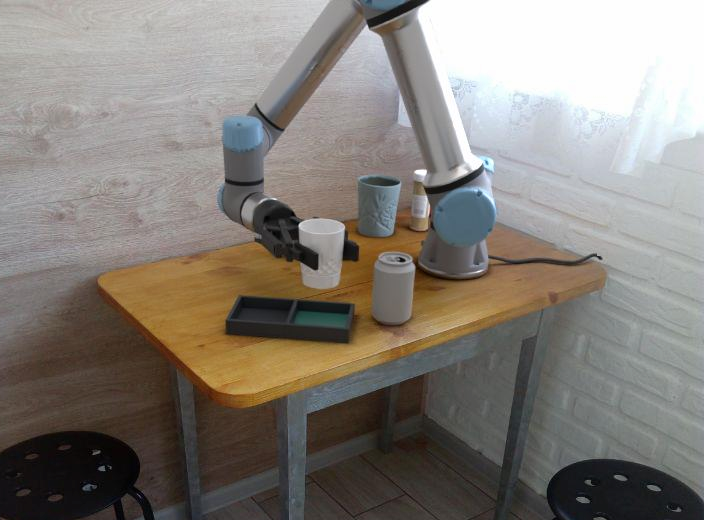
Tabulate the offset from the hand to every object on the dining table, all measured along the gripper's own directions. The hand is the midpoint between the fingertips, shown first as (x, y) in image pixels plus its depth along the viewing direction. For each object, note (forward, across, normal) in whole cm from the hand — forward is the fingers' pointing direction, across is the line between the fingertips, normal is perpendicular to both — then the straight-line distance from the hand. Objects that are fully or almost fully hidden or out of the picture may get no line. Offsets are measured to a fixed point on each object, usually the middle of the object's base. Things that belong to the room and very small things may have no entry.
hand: (337, 258), depth 129 cm
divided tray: (-8, +4, -15) cm, 17 cm away
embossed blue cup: (-43, -40, -15) cm, 61 cm away
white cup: (-5, 0, -6) cm, 8 cm away
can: (-1, -14, -15) cm, 20 cm away
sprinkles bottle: (-39, -51, -15) cm, 66 cm away
